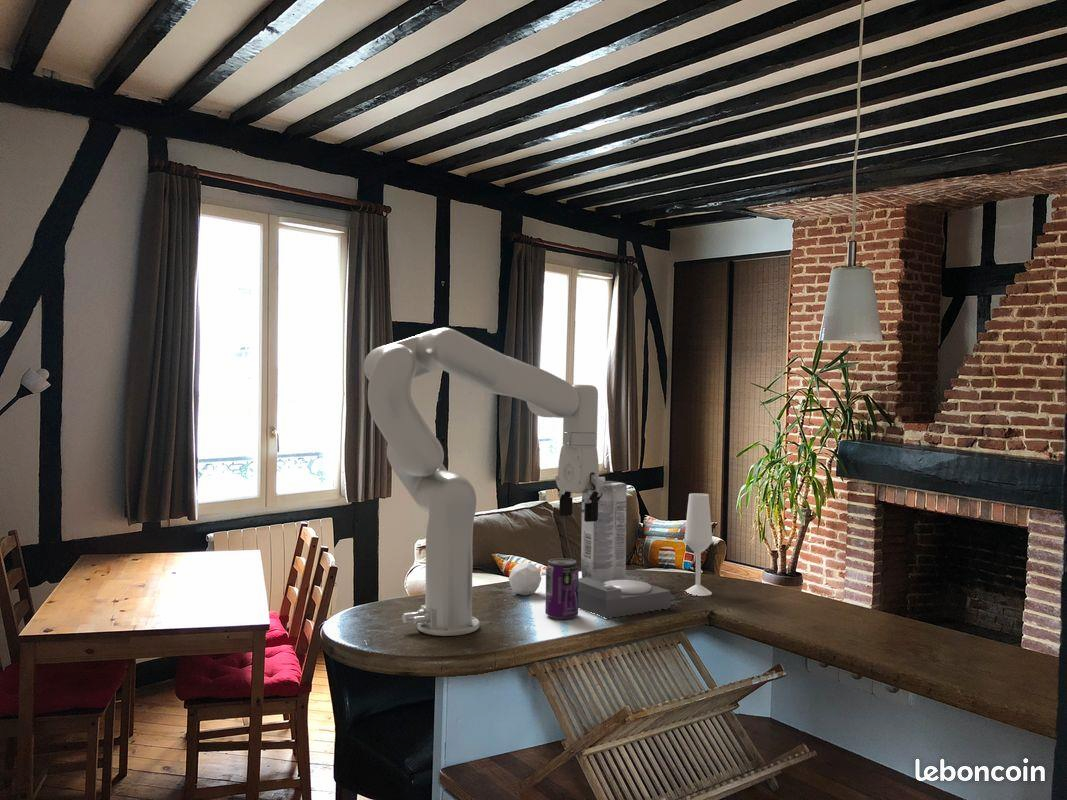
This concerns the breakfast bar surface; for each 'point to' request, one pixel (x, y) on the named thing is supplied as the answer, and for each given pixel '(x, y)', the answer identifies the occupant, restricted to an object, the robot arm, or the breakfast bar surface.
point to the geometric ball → (525, 578)
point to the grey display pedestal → (620, 597)
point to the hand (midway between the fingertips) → (578, 518)
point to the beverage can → (562, 588)
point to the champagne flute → (698, 534)
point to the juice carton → (605, 536)
